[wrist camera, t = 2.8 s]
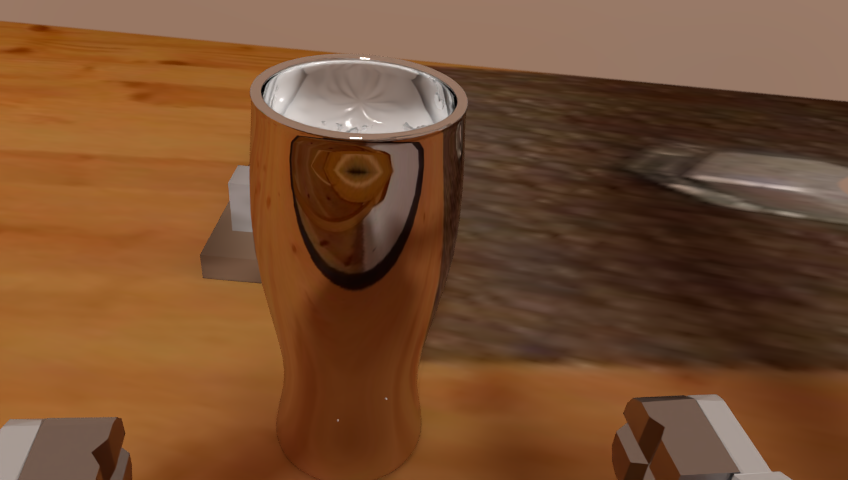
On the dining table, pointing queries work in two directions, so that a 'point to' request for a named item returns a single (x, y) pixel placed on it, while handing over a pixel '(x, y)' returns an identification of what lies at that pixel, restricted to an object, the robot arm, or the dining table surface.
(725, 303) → the dining table surface
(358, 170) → the beer glass
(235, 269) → the rail board
